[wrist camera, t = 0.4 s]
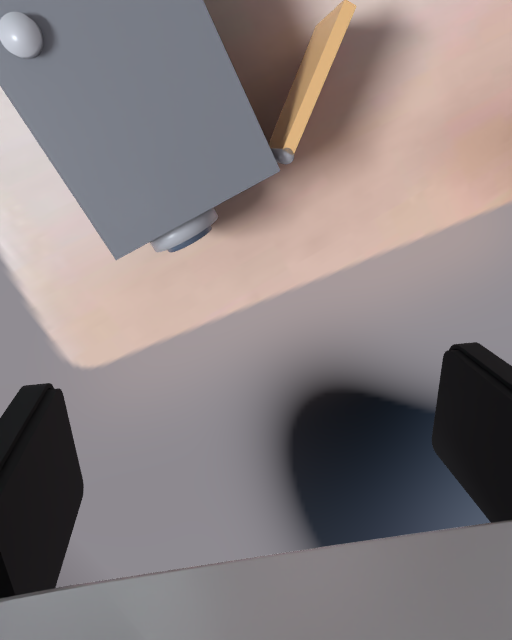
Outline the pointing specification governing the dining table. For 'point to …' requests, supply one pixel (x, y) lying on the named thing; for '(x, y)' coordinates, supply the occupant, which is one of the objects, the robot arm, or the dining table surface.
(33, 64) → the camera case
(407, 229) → the dining table surface
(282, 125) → the tan cabinet door
